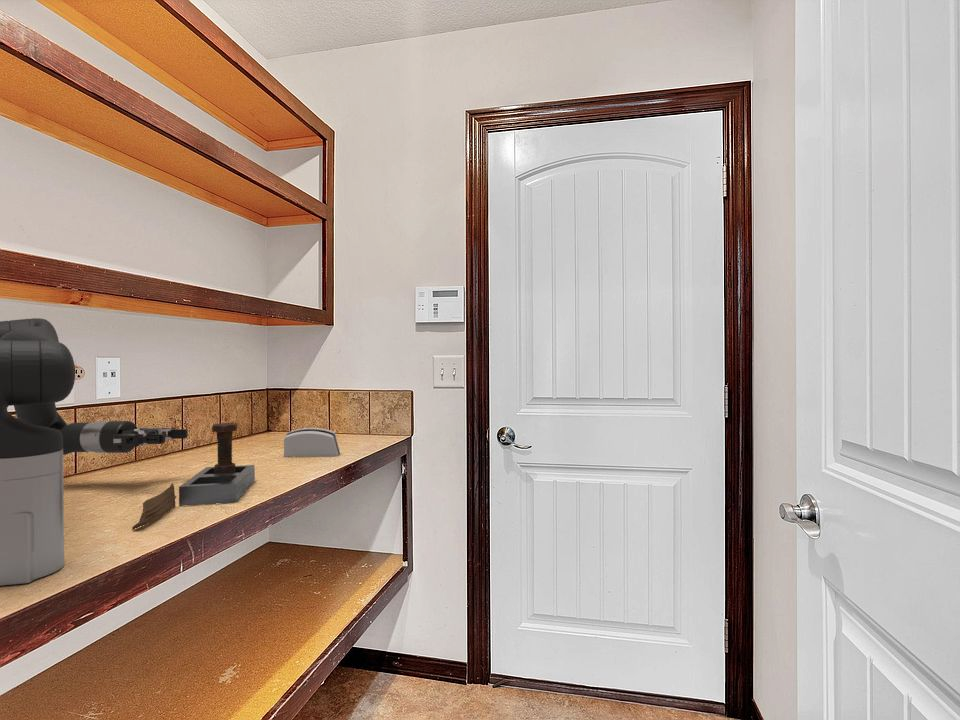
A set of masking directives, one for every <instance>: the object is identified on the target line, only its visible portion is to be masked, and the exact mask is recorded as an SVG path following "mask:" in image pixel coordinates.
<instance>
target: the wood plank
mask: <svg viewBox="0 0 960 720" xmlns="http://www.w3.org/2000/svg"><path fill="white" fill-rule="evenodd" d="M176 499H177V495H176V492H175V485H174V483H173V482H172V483H171V484H170V485H169V487H167V489H165V490H164V491H163V492H161V493H159V494H158V495H156V496H153V497H151V498H148V499H146V500H144V502H142V513H141V515H140V518H139V520H138V522H137V523H135V524H134V525H132V527H131V531H132V530H133V531H135V530H136V529H138V527H139V528H141V527H144V526H148V525H149V524H151V523H153V522H154V521H157V520H159V519H161V518H162V516H163V515H164V514H165V513H166V514H168V513H169V512H171V511H172V510H173V509H175V507H176ZM172 508H173V509H172ZM171 509H172V510H171ZM170 510H171V511H170ZM168 511H169V512H168ZM167 512H168V513H167ZM166 514H165V515H166ZM165 515H164V516H165ZM160 517H161V518H160ZM158 518H159V519H158ZM143 525H144V526H143ZM140 526H141V527H140ZM135 528H136V529H135Z"/></svg>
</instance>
